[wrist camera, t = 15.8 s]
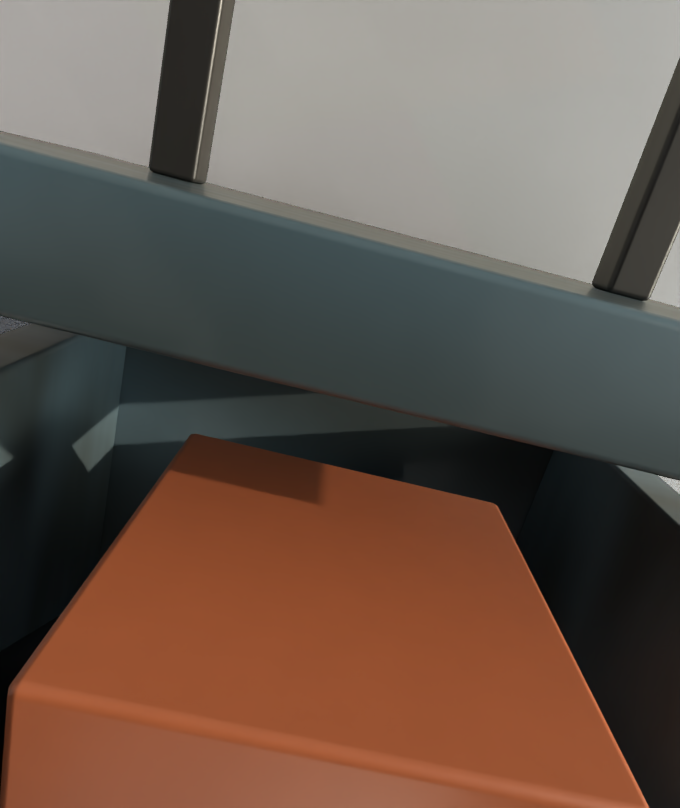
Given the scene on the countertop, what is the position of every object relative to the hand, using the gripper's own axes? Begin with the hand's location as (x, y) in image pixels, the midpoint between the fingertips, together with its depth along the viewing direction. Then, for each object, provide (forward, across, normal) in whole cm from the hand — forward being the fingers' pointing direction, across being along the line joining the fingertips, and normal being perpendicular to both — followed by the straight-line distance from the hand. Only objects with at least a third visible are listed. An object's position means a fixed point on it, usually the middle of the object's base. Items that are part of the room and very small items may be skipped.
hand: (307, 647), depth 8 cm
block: (+1, 0, 0) cm, 1 cm away
